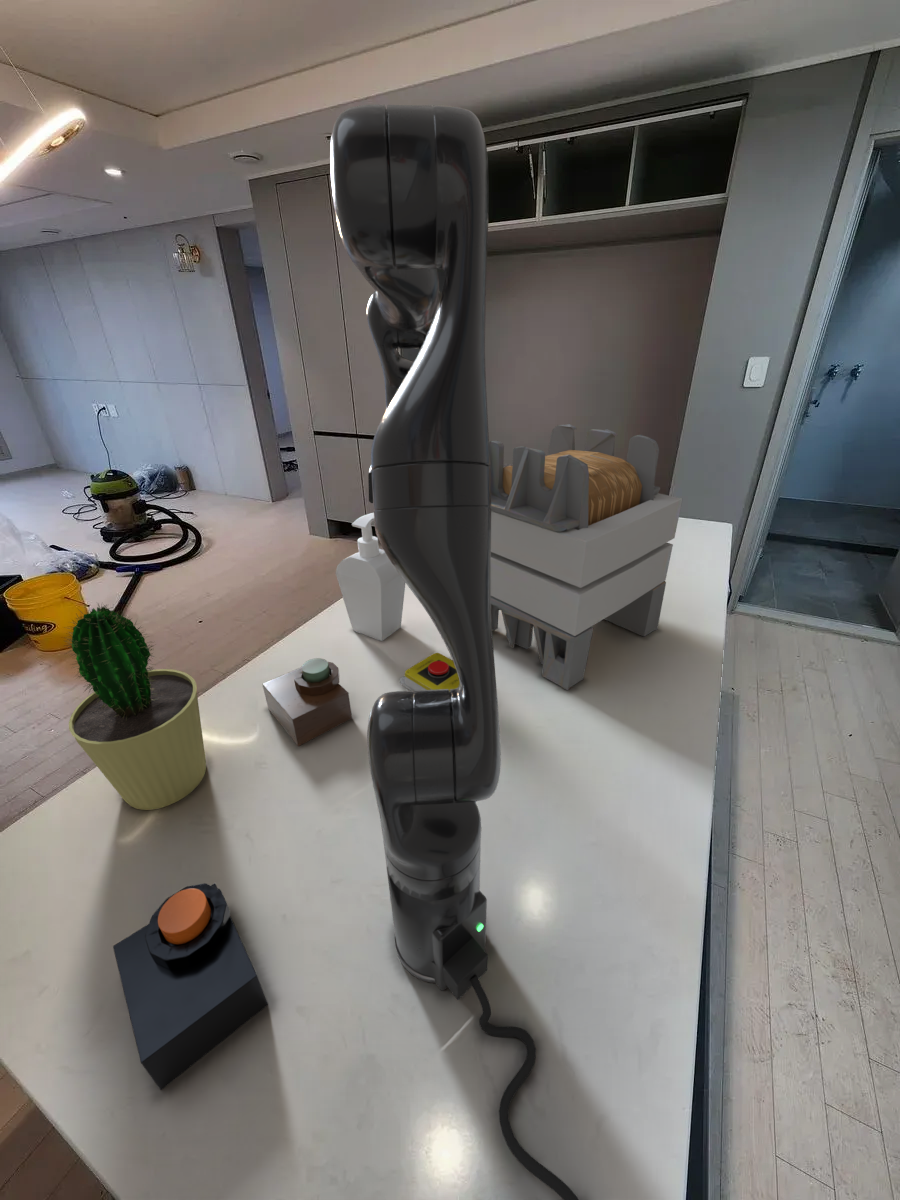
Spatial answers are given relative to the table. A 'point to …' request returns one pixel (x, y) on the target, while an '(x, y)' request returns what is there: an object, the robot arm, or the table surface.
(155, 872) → the table surface
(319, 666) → the knob back
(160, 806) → the potted cactus
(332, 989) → the table surface
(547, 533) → the transformer
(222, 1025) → the black push button box
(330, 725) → the block back
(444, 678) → the emergency button
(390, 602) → the soap bottle
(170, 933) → the knob front
